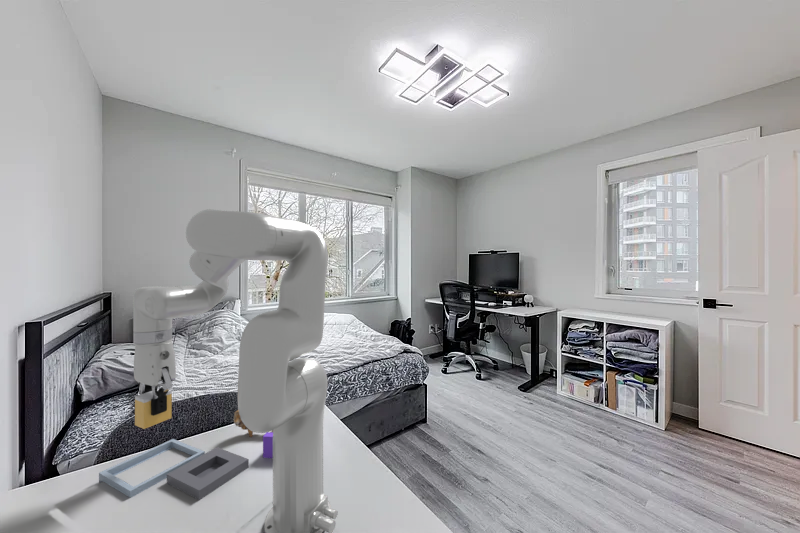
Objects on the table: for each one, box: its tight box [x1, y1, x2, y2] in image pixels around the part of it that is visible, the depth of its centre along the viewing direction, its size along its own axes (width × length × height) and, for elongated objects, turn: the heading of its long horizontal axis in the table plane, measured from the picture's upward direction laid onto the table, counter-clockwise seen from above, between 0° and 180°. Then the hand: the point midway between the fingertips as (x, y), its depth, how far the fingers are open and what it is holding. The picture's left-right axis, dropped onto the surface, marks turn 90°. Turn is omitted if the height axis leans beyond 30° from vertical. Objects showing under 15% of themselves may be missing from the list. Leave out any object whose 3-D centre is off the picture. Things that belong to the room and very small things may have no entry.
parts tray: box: [98, 438, 206, 499], centre depth 78 cm, size 14×16×2 cm
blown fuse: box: [134, 388, 173, 430], centre depth 78 cm, size 4×6×7 cm, turn 154°
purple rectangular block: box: [262, 431, 273, 459], centre depth 88 cm, size 12×7×7 cm, turn 175°
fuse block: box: [166, 446, 250, 501], centre depth 75 cm, size 12×12×3 cm
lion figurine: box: [233, 409, 273, 438], centre depth 93 cm, size 15×5×9 cm, turn 105°
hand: (153, 410), depth 78 cm, fingers closed on blown fuse, 4 cm apart
